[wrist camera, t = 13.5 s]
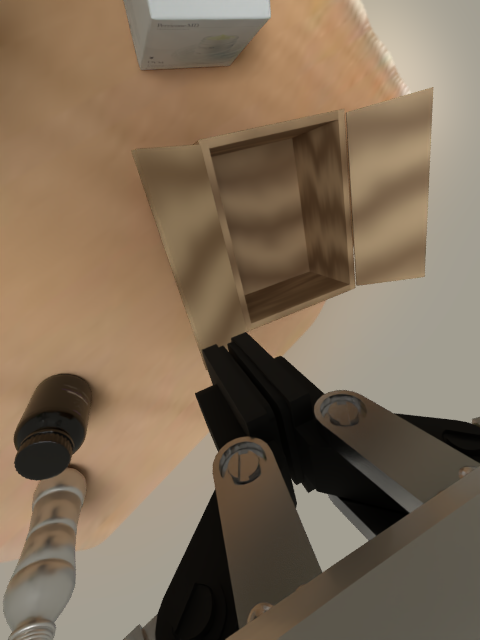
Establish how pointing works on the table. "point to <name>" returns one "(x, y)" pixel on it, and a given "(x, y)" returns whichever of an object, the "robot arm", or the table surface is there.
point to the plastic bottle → (46, 559)
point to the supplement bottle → (52, 427)
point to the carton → (284, 213)
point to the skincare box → (193, 31)
